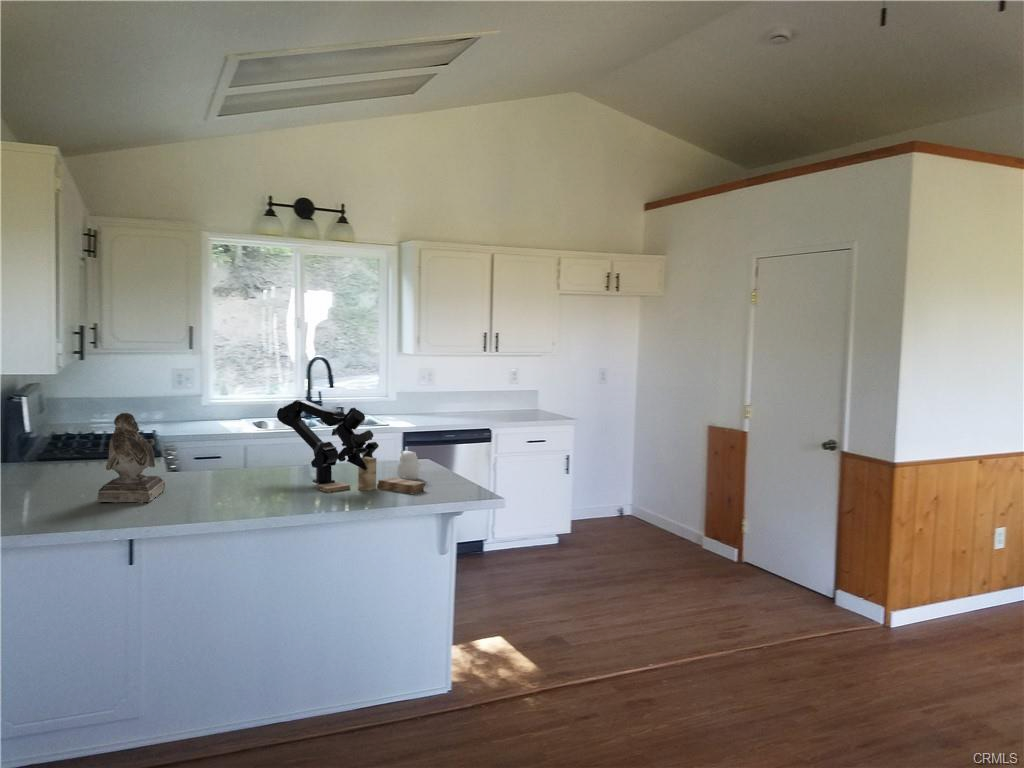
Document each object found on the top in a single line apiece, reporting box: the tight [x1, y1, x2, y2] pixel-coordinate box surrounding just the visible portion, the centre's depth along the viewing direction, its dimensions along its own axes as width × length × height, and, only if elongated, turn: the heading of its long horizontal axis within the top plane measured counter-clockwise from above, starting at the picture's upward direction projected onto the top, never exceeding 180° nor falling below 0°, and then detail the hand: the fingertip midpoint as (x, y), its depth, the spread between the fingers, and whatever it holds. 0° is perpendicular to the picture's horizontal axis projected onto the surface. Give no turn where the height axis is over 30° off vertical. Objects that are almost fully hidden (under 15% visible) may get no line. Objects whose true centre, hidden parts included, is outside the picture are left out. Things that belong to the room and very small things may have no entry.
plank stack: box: [376, 476, 426, 494], centre depth 287 cm, size 17×7×3 cm, turn 62°
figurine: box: [396, 450, 422, 481], centre depth 305 cm, size 10×10×12 cm
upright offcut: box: [357, 456, 377, 491], centre depth 287 cm, size 5×4×12 cm
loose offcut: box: [316, 481, 351, 493], centre depth 285 cm, size 7×10×2 cm
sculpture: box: [97, 412, 166, 503], centre depth 262 cm, size 19×17×30 cm
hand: (370, 468), depth 286 cm, fingers closed on upright offcut, 4 cm apart
